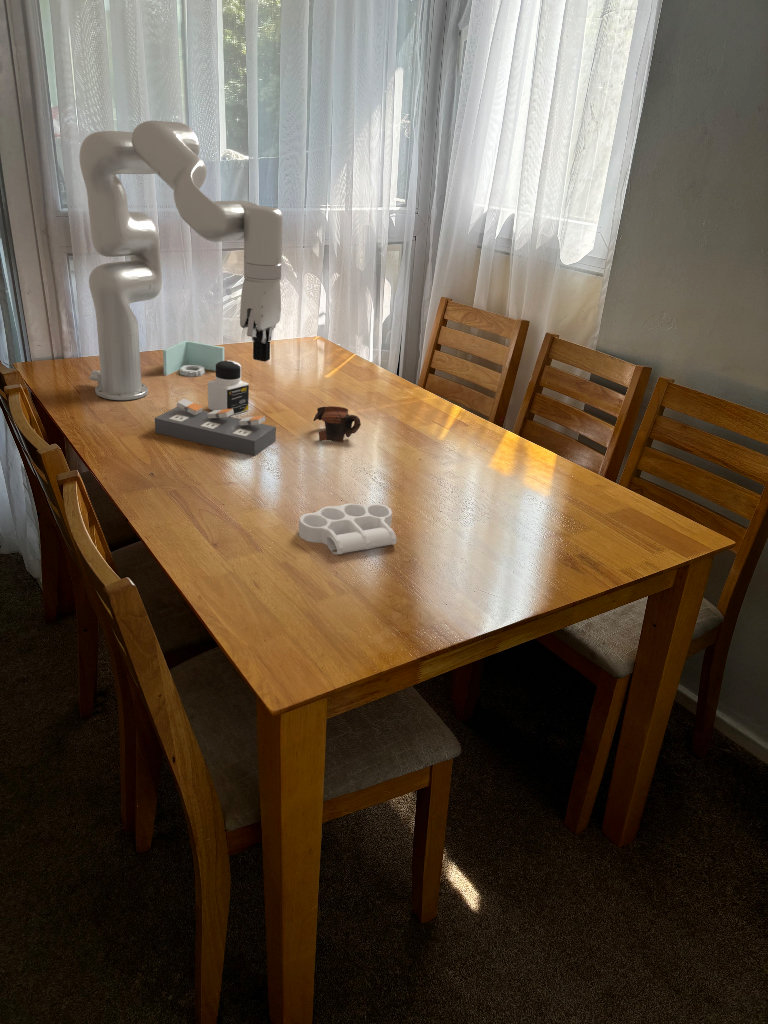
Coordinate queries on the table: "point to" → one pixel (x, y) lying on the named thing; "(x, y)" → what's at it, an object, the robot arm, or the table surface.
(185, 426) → the power strip
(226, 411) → the rocker
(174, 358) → the right angle wall
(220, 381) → the medicine bottle
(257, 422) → the rocker
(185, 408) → the rocker
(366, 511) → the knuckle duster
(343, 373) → the table surface
